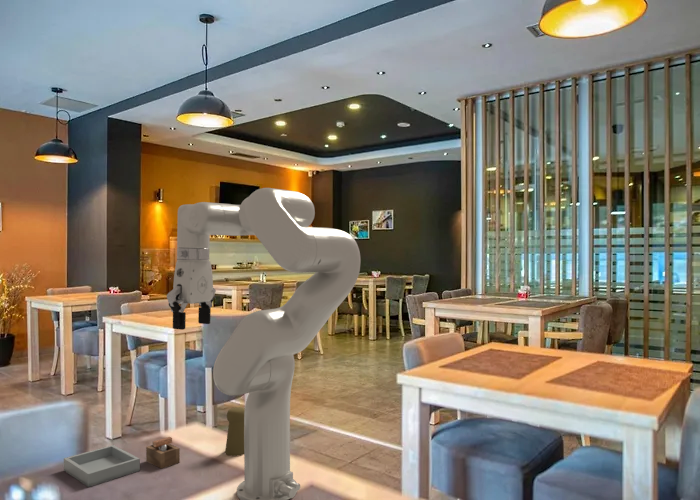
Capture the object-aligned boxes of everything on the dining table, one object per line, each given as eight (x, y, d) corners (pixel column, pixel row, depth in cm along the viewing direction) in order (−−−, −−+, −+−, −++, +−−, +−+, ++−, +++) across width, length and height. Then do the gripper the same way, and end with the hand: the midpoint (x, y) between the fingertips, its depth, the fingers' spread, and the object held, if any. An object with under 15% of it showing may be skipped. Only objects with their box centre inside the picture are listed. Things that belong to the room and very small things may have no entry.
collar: (179, 462, 128) (179, 444, 128) (161, 468, 124) (161, 450, 124) (164, 455, 133) (164, 438, 133) (146, 461, 129) (146, 443, 129)
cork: (235, 457, 131) (235, 413, 131) (220, 452, 135) (219, 408, 135) (254, 450, 136) (254, 407, 136) (238, 445, 139) (238, 403, 139)
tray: (139, 470, 123) (139, 458, 123) (88, 487, 115) (88, 474, 115) (113, 456, 132) (113, 444, 132) (63, 470, 124) (63, 458, 124)
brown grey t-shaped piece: (172, 460, 129) (172, 438, 129) (156, 465, 126) (156, 442, 126) (168, 458, 131) (168, 436, 131) (152, 463, 127) (152, 441, 128)
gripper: (183, 256, 119) (181, 332, 119) (226, 255, 135) (225, 322, 135) (156, 255, 122) (154, 330, 122) (202, 255, 138) (201, 320, 138)
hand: (192, 326), depth 129 cm, fingers open, 9 cm apart
